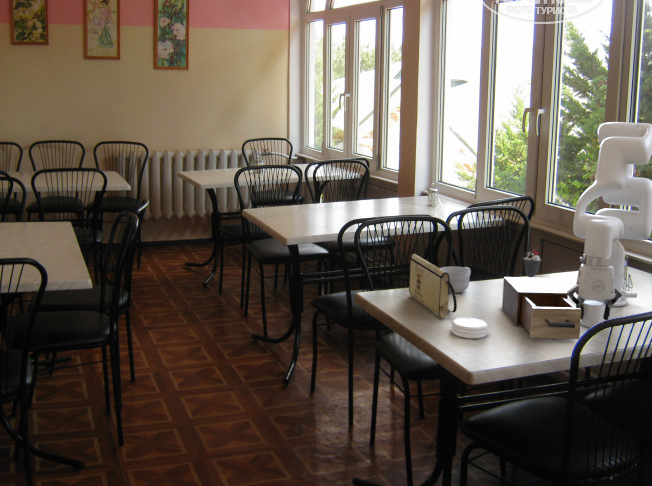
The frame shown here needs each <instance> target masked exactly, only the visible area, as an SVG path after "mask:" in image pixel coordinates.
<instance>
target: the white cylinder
mask: <svg viewBox="0 0 652 486" xmlns="http://www.w3.org/2000/svg"><path fill="white" fill-rule="evenodd" d="M605 306H606V304H605V303H603V302H600V301H595V300H586V299H585V301H584V303H583V304H582V307H583V319H582V320H581V326H583V327H587V328H589V329H590V328H591V327H592V326H594V325H595V324H597V323H599V322H601V321H604V318H603V316H604V311H605ZM591 329H592V328H591Z"/></svg>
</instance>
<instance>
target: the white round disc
mask: <svg viewBox="0 0 652 486" xmlns="http://www.w3.org/2000/svg"><path fill="white" fill-rule="evenodd" d="M451 333H452V335H454V336H456V337H458V338H462V339H469V340H470V339H471V340H477V339H478V340H479V339H482V338H485V337H486V336H487V335H488V323H487V322H486V321H485V320H482V319H480V318H476V317H468V316H467V317H464V316H463V317H456V318H454V319H453V320H452V321H451Z"/></svg>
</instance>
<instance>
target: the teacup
mask: <svg viewBox="0 0 652 486" xmlns="http://www.w3.org/2000/svg"><path fill="white" fill-rule="evenodd" d="M439 268H440V269H441V270H443V271H445V272H447V273H448V274H449V278H450V283H451V285H452V286H453V289H454V292H455V294H458V293H464V292H465V290H467V289H468V287H469V285H470V276H471V274H472V273H471V272H472V271H471V268H470V267H468V266H464V267H463V266H443V267H439ZM450 293H451V290H450V291H449V294H450ZM451 294H452V293H451Z"/></svg>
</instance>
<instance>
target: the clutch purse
mask: <svg viewBox="0 0 652 486" xmlns="http://www.w3.org/2000/svg"><path fill="white" fill-rule="evenodd" d="M409 259H410V260H409V275H408V277H409V278H408V279H409V280H408V293H409V295H410V296H411V297H412V298H414V299H415V300H416V301H418V302H419V303H421V304H422V305H423V306H425V307H426V308H427V309H428V310H430V311H432V312H433V313H434V314H435V315H437V316H438V317H439V318H440V319H442V320H444V319H446V317H447V315H448V313H456V311H457V309H458V304H457V302H458V301H457V297H456V293H455V292H454V289H453V286H452V285H451V283H450V278H449V274H448V273H447V272H445V271H443V270H441V269H440V268H441V267H438V266H437V265H435V264H433V263H431V262H429V261H428V260H426V259H424V258H422V257H421V256H419V255H418V254H417V253H412V254H411V255H410V258H409ZM450 290H451V296H452V302H453V308H452V311H450V310H449V296H450V292H449V291H450Z"/></svg>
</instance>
